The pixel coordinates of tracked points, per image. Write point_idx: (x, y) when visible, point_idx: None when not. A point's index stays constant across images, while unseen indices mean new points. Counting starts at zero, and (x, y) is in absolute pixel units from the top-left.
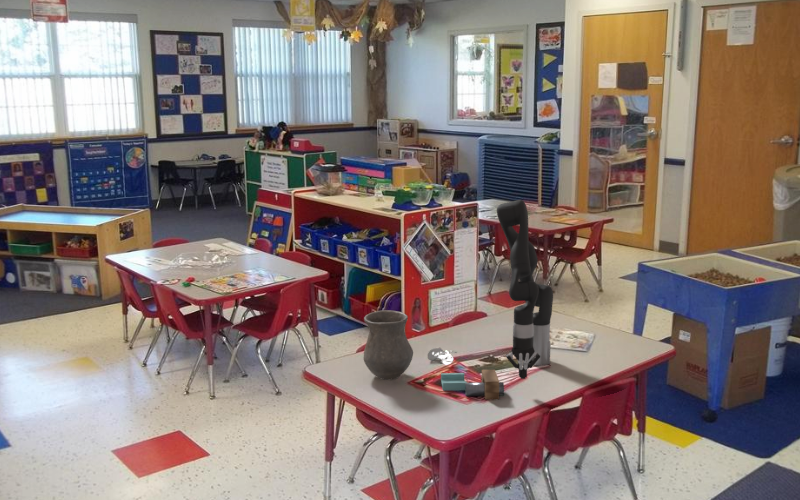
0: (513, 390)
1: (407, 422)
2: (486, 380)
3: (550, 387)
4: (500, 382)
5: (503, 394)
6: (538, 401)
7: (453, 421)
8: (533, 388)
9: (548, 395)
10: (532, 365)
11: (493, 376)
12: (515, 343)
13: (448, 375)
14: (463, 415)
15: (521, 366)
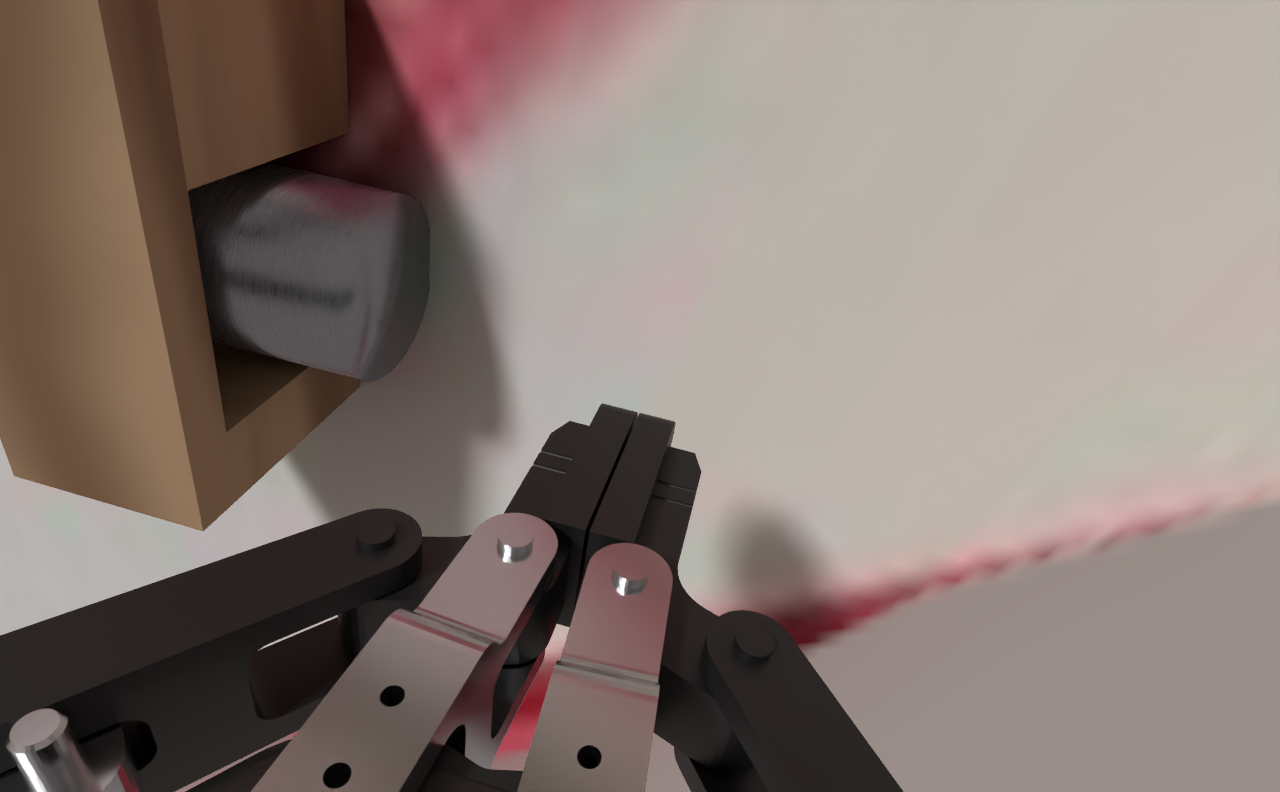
0: (600, 176)
1: None
2: (18, 444)
3: (1264, 218)
4: (296, 314)
5: (415, 325)
6: (778, 558)
7: (11, 613)
8: (942, 182)
9: (1002, 465)
10: (761, 788)
11: (102, 332)
12: None
13: None
14: (60, 564)
15: (494, 692)
